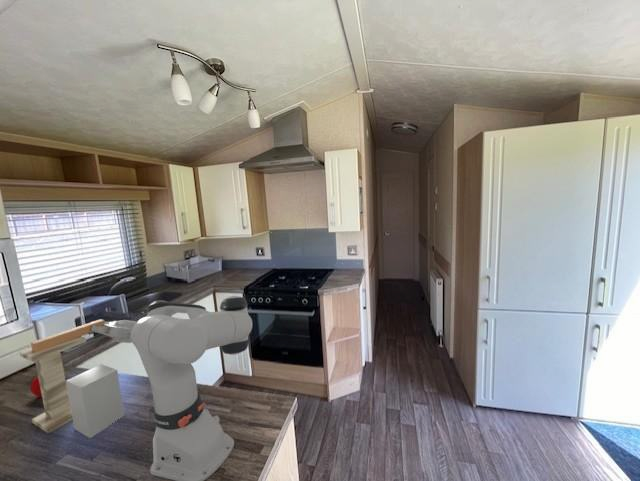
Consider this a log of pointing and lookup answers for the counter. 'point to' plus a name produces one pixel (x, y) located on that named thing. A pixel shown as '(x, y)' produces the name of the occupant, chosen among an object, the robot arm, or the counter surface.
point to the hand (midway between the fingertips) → (88, 327)
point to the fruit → (36, 387)
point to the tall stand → (52, 385)
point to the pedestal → (95, 399)
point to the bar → (64, 336)
